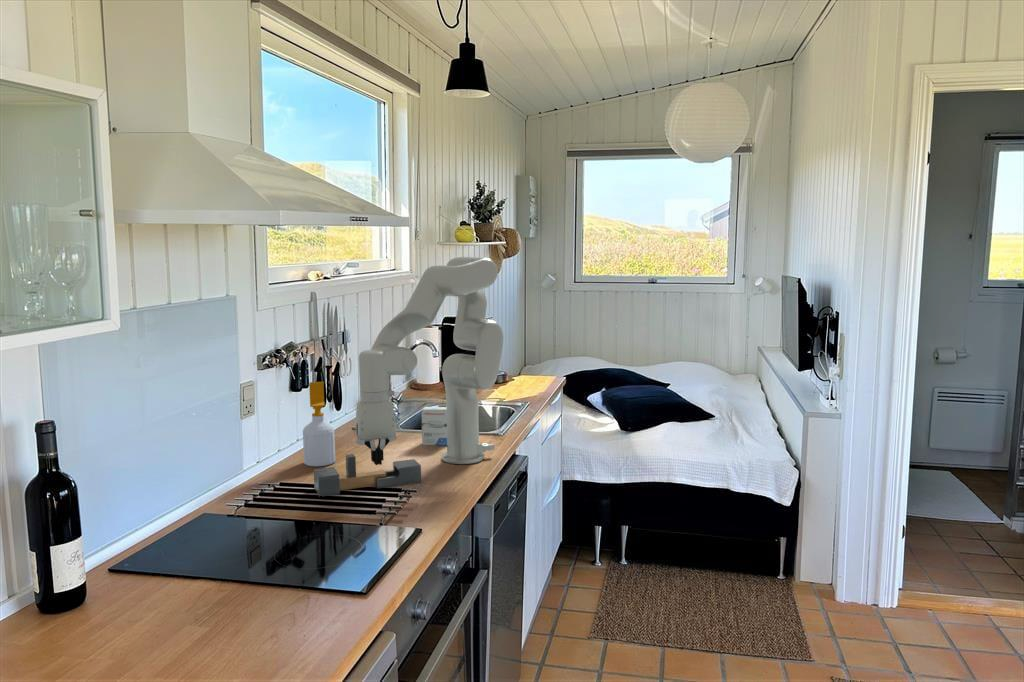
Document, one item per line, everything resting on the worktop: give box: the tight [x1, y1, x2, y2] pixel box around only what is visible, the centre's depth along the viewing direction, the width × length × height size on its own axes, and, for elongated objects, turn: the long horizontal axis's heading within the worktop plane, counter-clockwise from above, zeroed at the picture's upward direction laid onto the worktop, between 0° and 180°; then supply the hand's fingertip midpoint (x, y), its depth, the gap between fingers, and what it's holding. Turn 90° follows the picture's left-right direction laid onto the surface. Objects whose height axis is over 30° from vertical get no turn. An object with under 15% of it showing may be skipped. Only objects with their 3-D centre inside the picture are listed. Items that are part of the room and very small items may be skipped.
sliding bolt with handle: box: [339, 453, 386, 491], centre depth 207 cm, size 16×3×8 cm, turn 113°
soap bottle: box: [302, 381, 336, 468], centre depth 229 cm, size 9×9×25 cm
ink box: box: [421, 406, 447, 446], centre depth 250 cm, size 8×5×12 cm, turn 84°
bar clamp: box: [313, 458, 422, 498], centre depth 208 cm, size 27×7×5 cm, turn 113°
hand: (377, 463), depth 209 cm, fingers closed
